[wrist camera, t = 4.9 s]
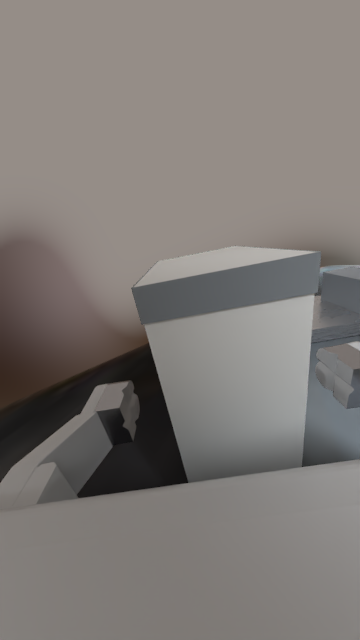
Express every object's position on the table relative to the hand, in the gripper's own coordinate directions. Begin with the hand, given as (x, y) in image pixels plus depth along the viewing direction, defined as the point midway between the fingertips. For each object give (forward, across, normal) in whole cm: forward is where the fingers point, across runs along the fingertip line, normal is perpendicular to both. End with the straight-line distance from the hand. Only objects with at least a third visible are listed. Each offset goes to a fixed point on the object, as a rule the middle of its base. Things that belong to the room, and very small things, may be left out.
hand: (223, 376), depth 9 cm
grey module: (+1, 0, +6) cm, 6 cm away
